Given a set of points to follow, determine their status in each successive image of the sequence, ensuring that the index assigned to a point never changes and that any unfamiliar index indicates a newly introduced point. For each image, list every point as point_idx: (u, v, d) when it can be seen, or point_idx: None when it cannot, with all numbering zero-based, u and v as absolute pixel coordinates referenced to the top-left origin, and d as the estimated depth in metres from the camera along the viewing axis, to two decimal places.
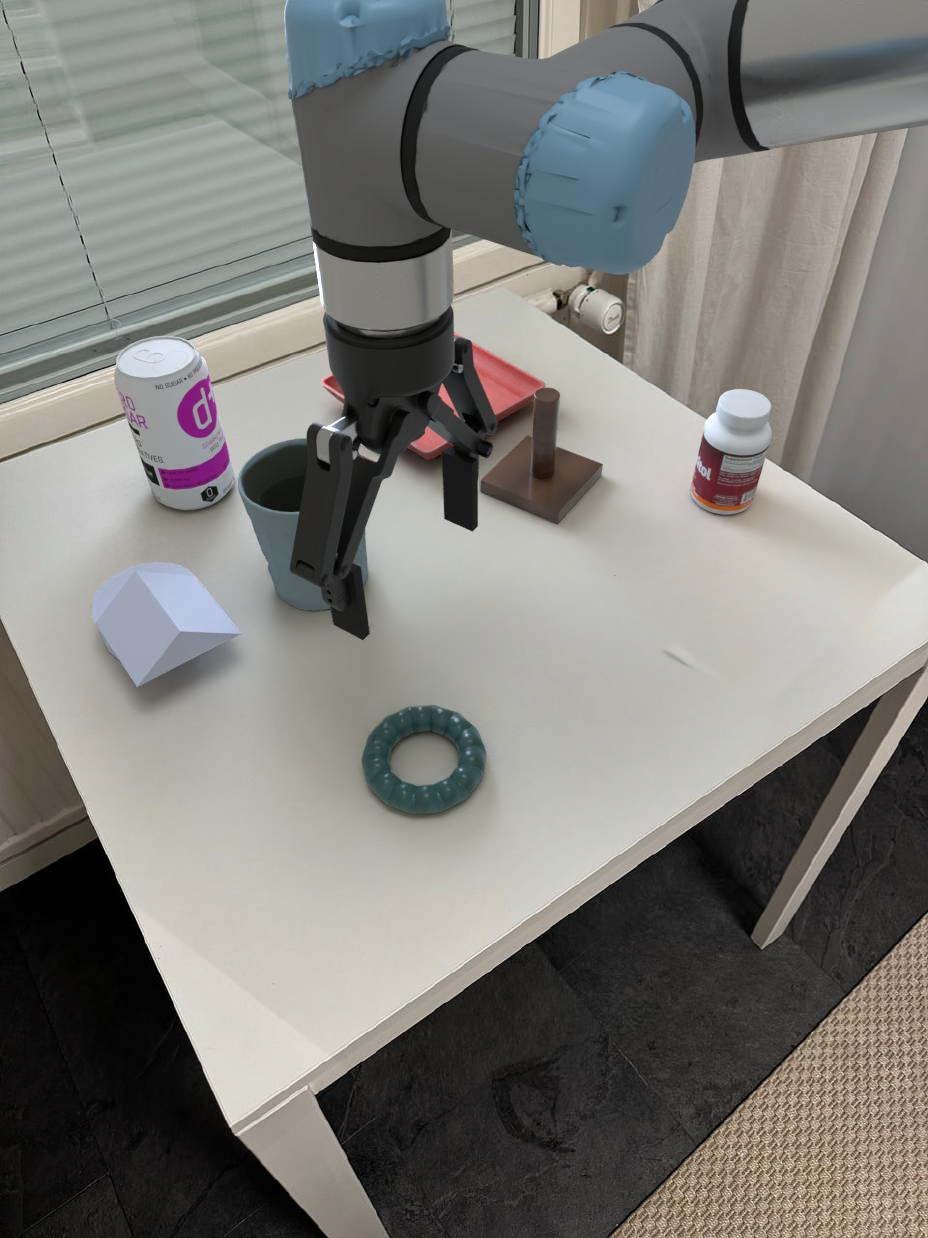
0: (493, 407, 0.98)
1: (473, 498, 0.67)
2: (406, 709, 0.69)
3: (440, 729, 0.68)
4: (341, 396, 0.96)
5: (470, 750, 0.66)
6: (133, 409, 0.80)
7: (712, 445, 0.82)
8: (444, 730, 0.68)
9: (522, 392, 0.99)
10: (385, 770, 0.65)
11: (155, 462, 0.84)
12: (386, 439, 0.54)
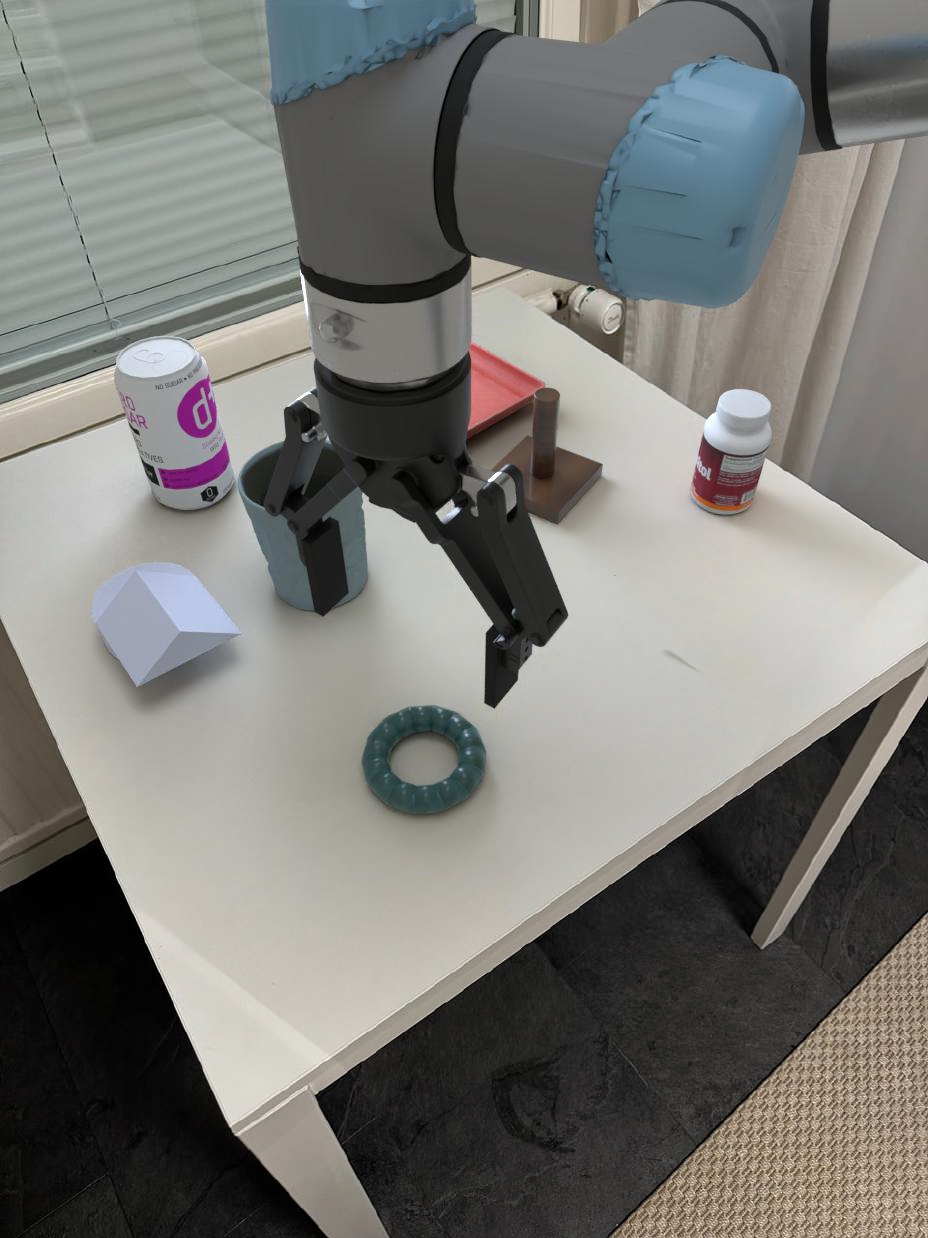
0: (493, 407, 0.98)
1: None
2: (406, 709, 0.69)
3: (440, 729, 0.68)
4: None
5: (470, 750, 0.66)
6: (133, 409, 0.80)
7: (712, 445, 0.82)
8: (444, 730, 0.68)
9: (522, 392, 0.99)
10: (385, 770, 0.65)
11: (155, 462, 0.84)
12: None
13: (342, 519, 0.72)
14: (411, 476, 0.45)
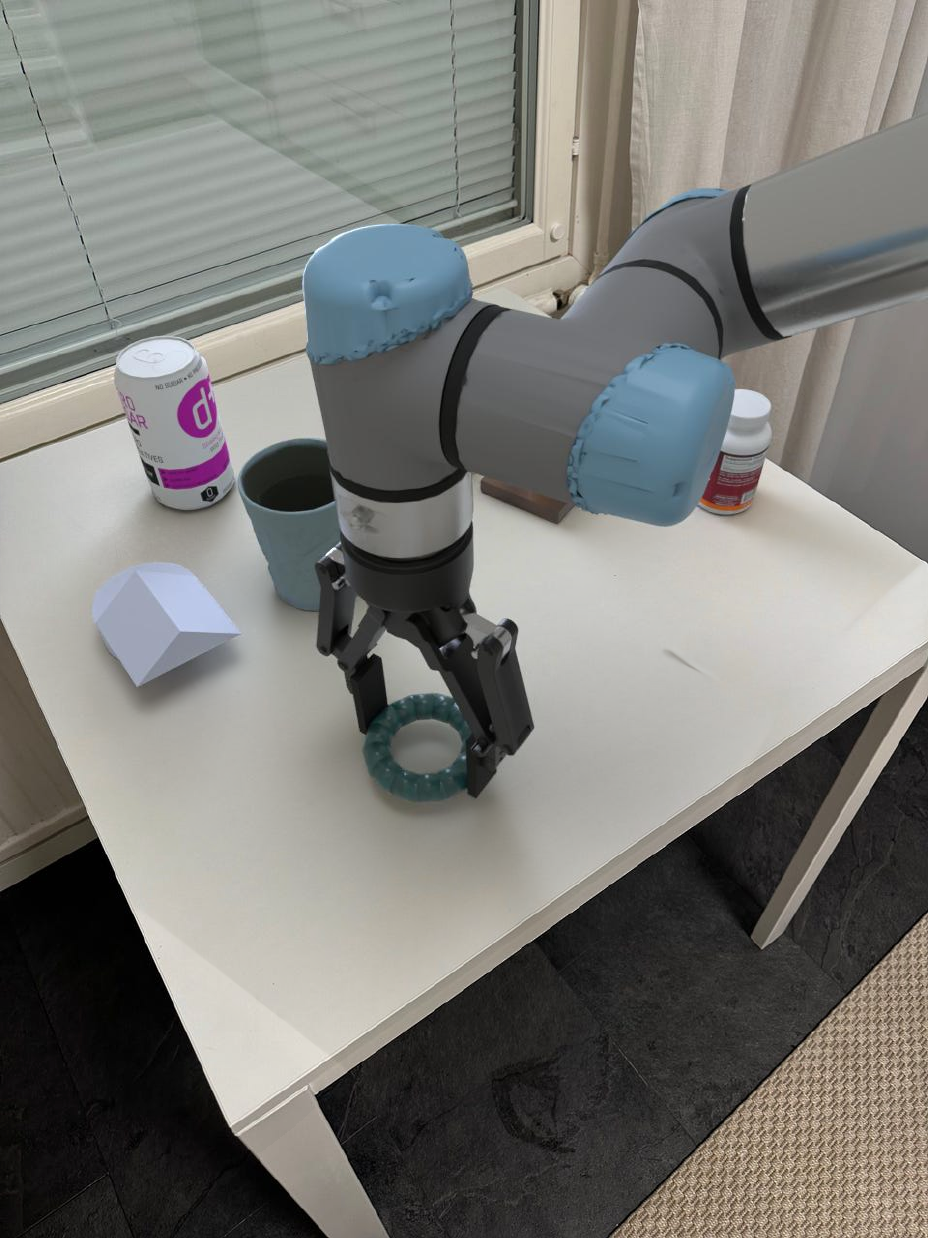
0: None
1: None
2: (408, 697, 0.68)
3: (443, 717, 0.67)
4: None
5: None
6: (133, 409, 0.80)
7: None
8: (446, 718, 0.67)
9: None
10: (387, 759, 0.64)
11: (155, 462, 0.84)
12: None
13: None
14: (425, 620, 0.53)
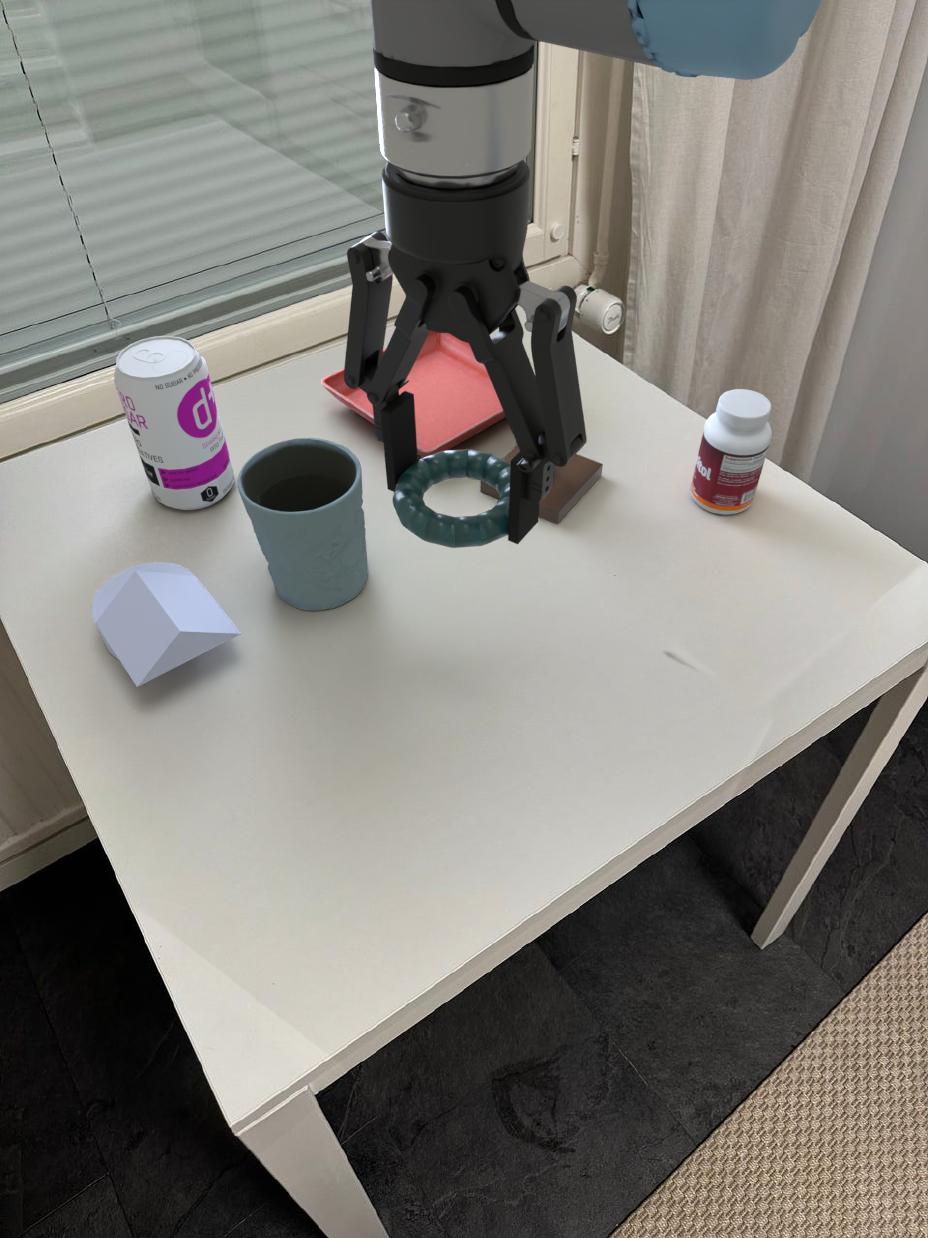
0: (493, 407, 0.98)
1: None
2: (439, 452, 0.63)
3: (478, 471, 0.62)
4: (341, 396, 0.96)
5: None
6: (133, 409, 0.80)
7: (712, 445, 0.82)
8: (482, 472, 0.62)
9: None
10: (420, 504, 0.59)
11: (155, 462, 0.84)
12: None
13: (342, 519, 0.72)
14: (473, 292, 0.48)
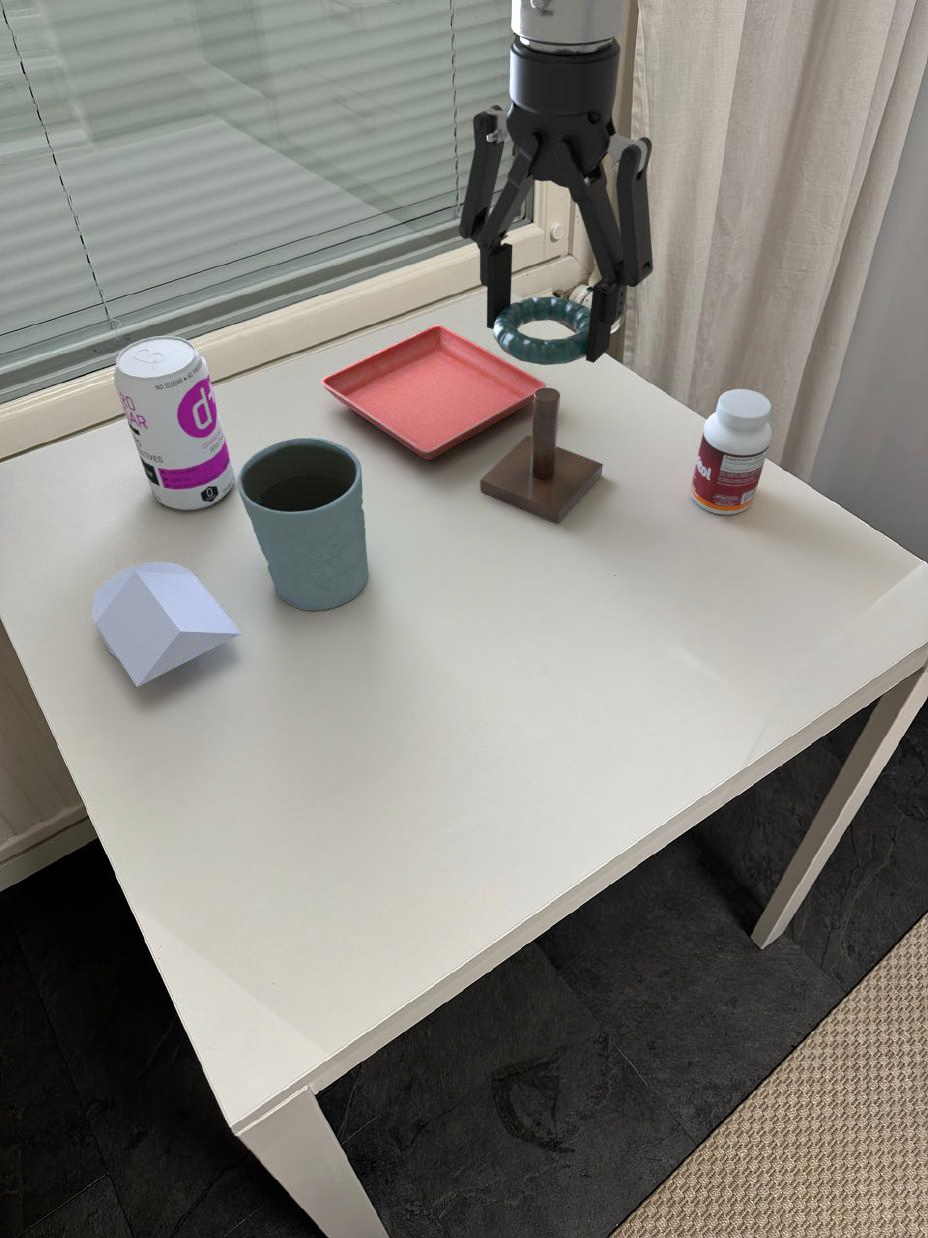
0: (493, 407, 0.98)
1: None
2: (528, 298, 0.79)
3: (559, 312, 0.78)
4: (341, 396, 0.96)
5: (588, 319, 0.76)
6: (133, 409, 0.80)
7: (712, 445, 0.82)
8: (562, 313, 0.78)
9: (522, 392, 0.99)
10: (516, 331, 0.75)
11: (155, 462, 0.84)
12: None
13: (342, 519, 0.72)
14: (573, 143, 0.64)
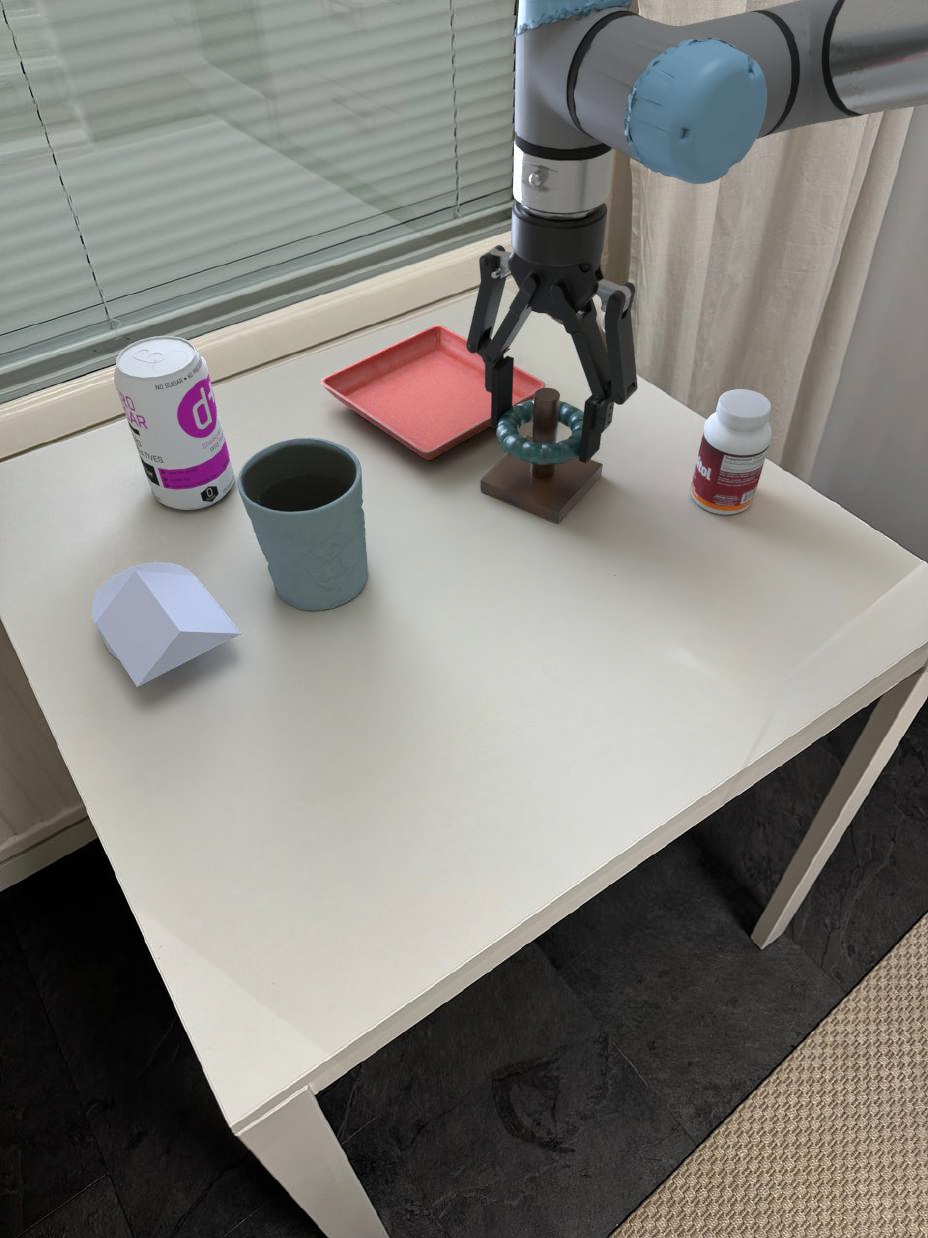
0: None
1: None
2: None
3: None
4: (341, 396, 0.96)
5: (581, 422, 0.85)
6: (133, 409, 0.80)
7: (712, 445, 0.82)
8: None
9: (522, 392, 0.99)
10: (517, 434, 0.84)
11: (155, 462, 0.84)
12: None
13: (342, 519, 0.72)
14: (566, 286, 0.73)
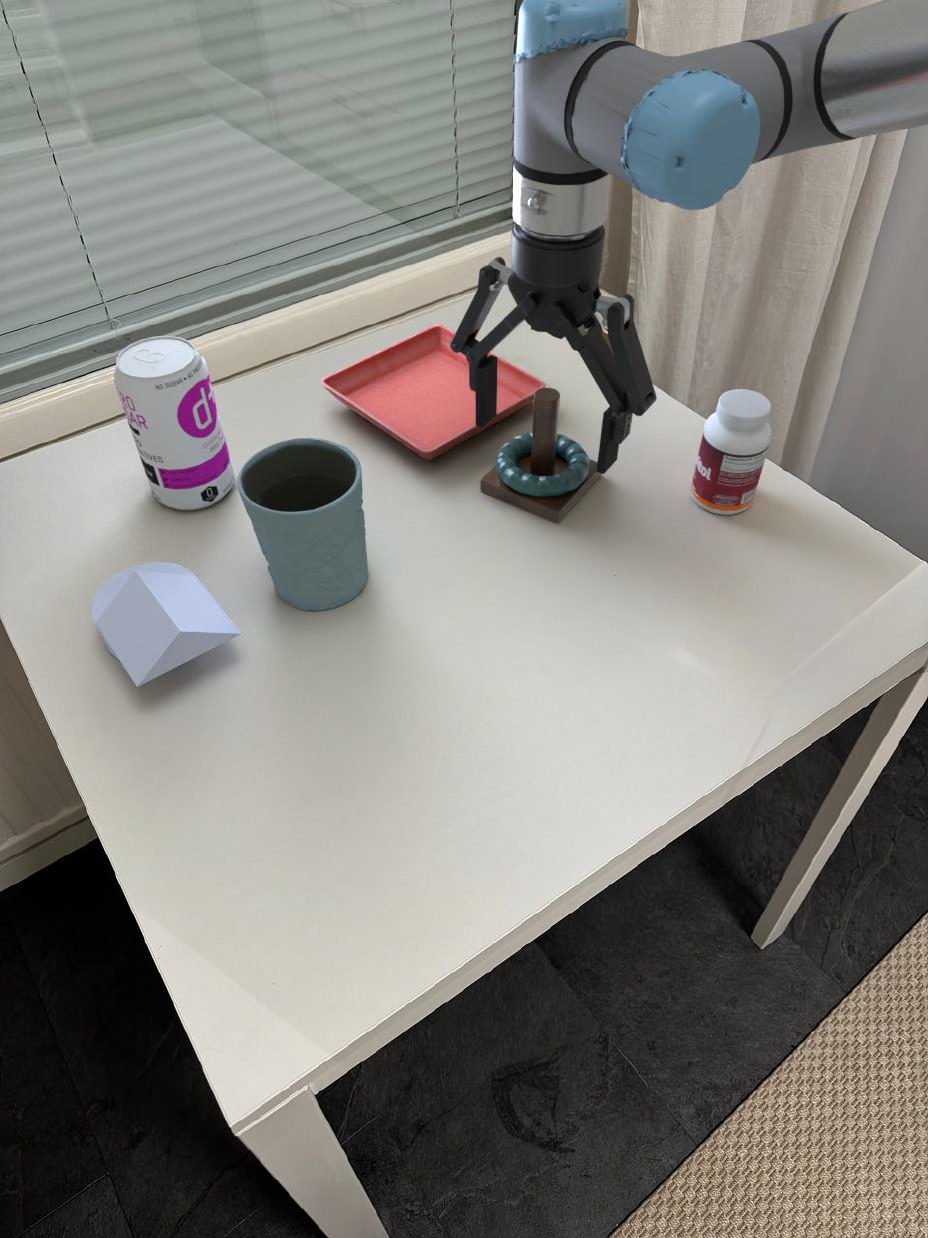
0: None
1: None
2: (526, 433, 0.91)
3: None
4: (341, 396, 0.96)
5: (578, 455, 0.88)
6: (133, 409, 0.80)
7: (712, 445, 0.82)
8: None
9: (522, 392, 0.99)
10: (516, 467, 0.87)
11: (155, 462, 0.84)
12: None
13: (342, 519, 0.72)
14: (564, 304, 0.74)
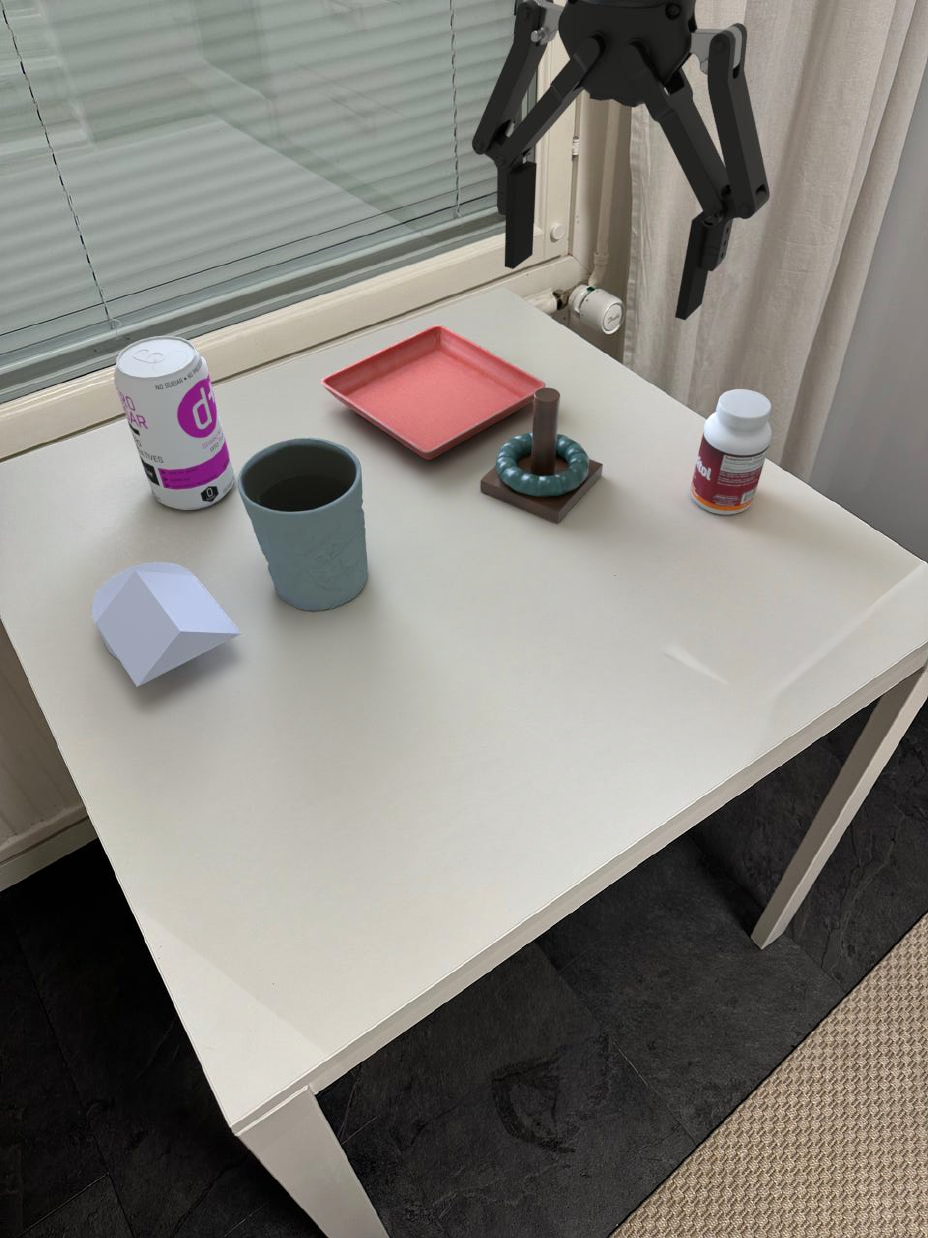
0: (493, 407, 0.98)
1: None
2: (526, 433, 0.91)
3: None
4: (341, 396, 0.96)
5: (578, 455, 0.88)
6: (133, 409, 0.80)
7: (712, 445, 0.82)
8: None
9: (522, 392, 0.99)
10: (516, 467, 0.87)
11: (155, 462, 0.84)
12: None
13: (342, 519, 0.72)
14: (643, 45, 0.51)
